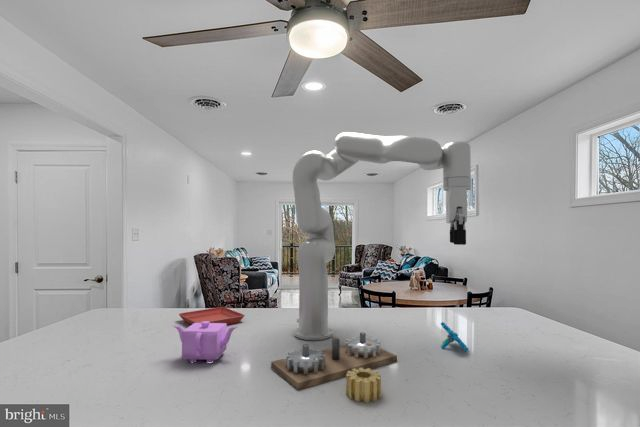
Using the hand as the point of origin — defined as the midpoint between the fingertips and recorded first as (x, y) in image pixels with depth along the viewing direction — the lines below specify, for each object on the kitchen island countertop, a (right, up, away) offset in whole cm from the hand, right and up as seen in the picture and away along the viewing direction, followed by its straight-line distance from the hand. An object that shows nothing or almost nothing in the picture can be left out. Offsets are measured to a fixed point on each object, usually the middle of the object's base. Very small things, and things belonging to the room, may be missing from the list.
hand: (457, 243), depth 102 cm
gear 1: (-43, -29, -16) cm, 55 cm away
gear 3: (-1, -31, +1) cm, 31 cm away
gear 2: (-28, -29, -6) cm, 41 cm away
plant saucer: (-80, -32, +28) cm, 91 cm away
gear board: (-36, -30, -11) cm, 48 cm away
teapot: (-71, -31, -6) cm, 78 cm away
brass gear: (-31, -30, -27) cm, 51 cm away
